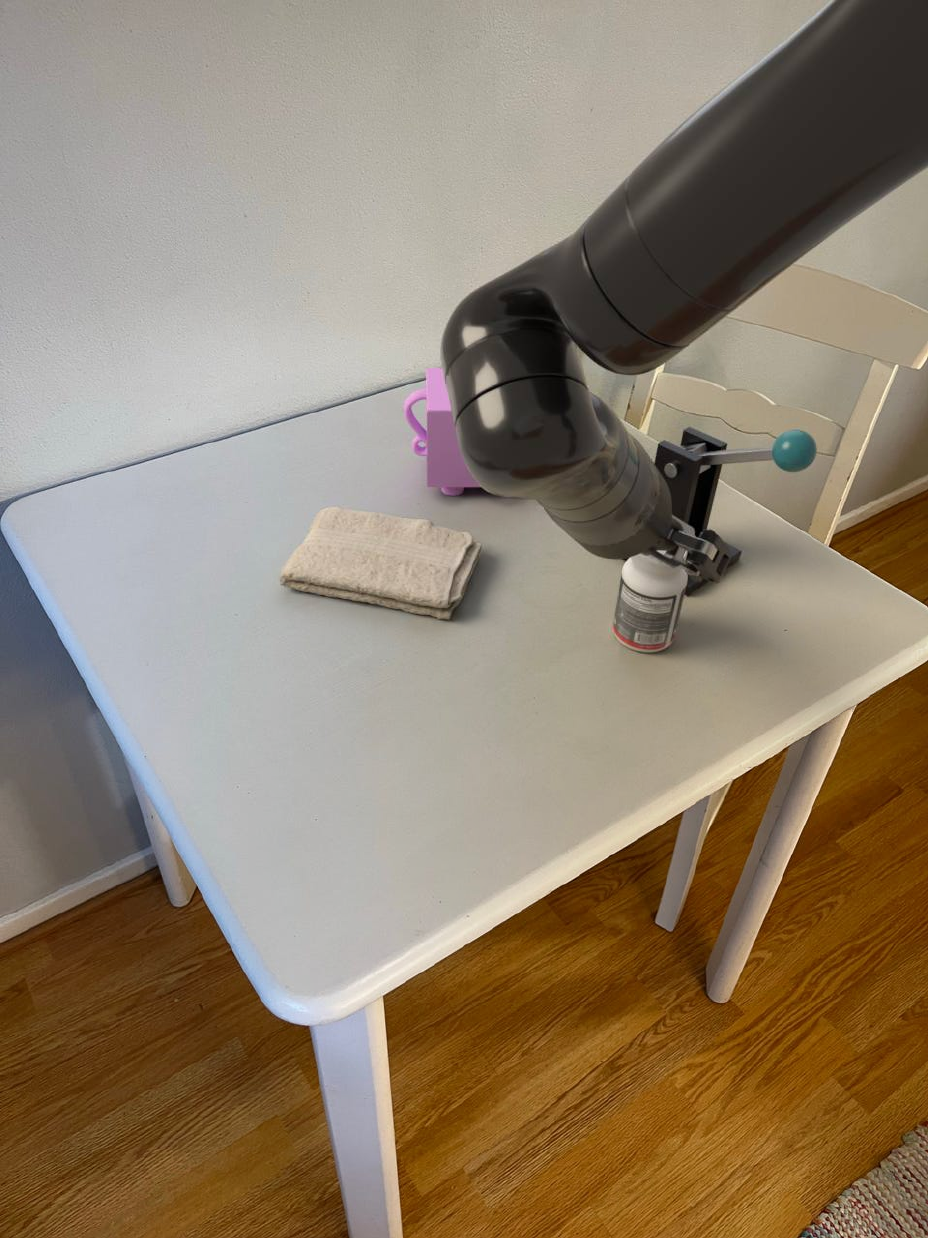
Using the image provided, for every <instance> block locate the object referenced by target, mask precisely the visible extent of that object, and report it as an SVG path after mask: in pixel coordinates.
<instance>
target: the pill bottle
mask: <svg viewBox="0 0 928 1238" xmlns="http://www.w3.org/2000/svg"><path fill="white" fill-rule="evenodd" d="M656 551H658V552H659V553H661V554H663V555H664V554H665V553H666V551H660V550H656ZM686 557H687V550H686V552H685V554H684V556H683V559H684V560H685V561H686ZM687 580H688V575H687V573H686V571H685V570H683V569H681V568H680V567H677V568H671V567H667V566H664V565H662V564H660V563H658V562H657V561H655V560H653V559H651V558H650V557H648V556H644V555H640V554H638V555H636V556H633V557H630V558H629V559H628V560H627V561H625V562H624V564H623V567H622V570H621V574H620V580H619V586H618V592H617V599H616V603H615V609H614V615H613V621H612V631H613V634H614V636H615V638H616V640H617V641H618V642H619V643H620V644H621V645H623V646H625V647H626V648H628V649H630V650H633V651H635V652H638V653H639V652H640V653H656V652H657V653H658V652H660V651H663V650H665V649H667V648H668V647H669V646H670V645H671V644H672V643H673V642H674V640H675V638H676V633H677V629H678V625H679V621H680V617H681V616H680V615H681V612H682V611H681V610H682V607H683V604H684V600H685V599H684V598H685V596H686V595H685V590H686V586H687Z"/></svg>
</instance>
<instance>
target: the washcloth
mask: <svg viewBox="0 0 928 1238" xmlns="http://www.w3.org/2000/svg"><path fill="white" fill-rule="evenodd" d="M482 548H483V544H482V543H480V542H478V541H474V540H473V534H472V533H470V532H467V531H460V530H455V529H451V528H447V527H443V526H441V525H437V524H435V523H434V522H433V521H431V520H430V519H426V518H419V519H418V518H416V519H415V518H408V517H401V516H395V515H392V514H387V513H379V512H375V511H364V510H355V509H351V508H344V507H341V506H333V507H332V506H331V507H326V508H322V509H320V510H319V512H318V513H317V514H316V516H315V518H314V519H313V521H312V523H311V525H310V528H309V530H308V534H307V535H306V537H305V538H304V540H303V542H302V544H300V545H298V546H297V547H295V550H294V551H293V552H292V554H291V555H290V556H289V559H288V560H286V562H285V564H284V566H283V567H282V568H281V570H280V573H279V577H278V578H279V579H278V581H279V582H280V586H281V587H282V586H283V587H286V588H288V589H289V588H290V589H292V590H296V591H300V592H304V593H310V594H311V593H312V594H315V595H316V594H317V595H321V596H325V597H328V598H329V597H330V598H340V599H343V600H351V601H354V602H356V601H357V602H362V603H369V604H371V605H378V606H381V607H385V608H387V609H388V608H389V609H395V610H401V611H403V612H406V613H412V614H414V615H415V614H417V615H422V616H424V615H426V616H432V617H433V618H437V619H438V620H450V619H451V616H452V614H453V611H454V610H455V608H457V606H458V605H459V604H460V603H461V601H462V599H463V597H464V595H465V593H466V591H467V586H468V585H469V581H470V578H471V576H472V575H473V572H474V570H475V567H476V565H477V563H478V561H479V558H480V556H481V554H482V550H483V549H482Z"/></svg>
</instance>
